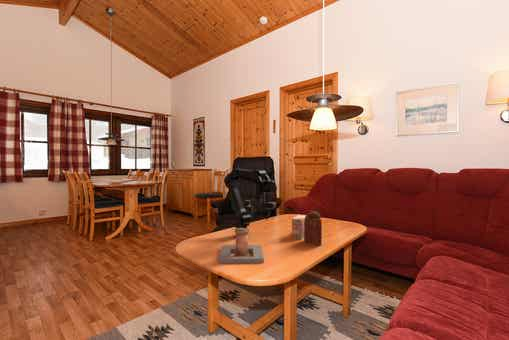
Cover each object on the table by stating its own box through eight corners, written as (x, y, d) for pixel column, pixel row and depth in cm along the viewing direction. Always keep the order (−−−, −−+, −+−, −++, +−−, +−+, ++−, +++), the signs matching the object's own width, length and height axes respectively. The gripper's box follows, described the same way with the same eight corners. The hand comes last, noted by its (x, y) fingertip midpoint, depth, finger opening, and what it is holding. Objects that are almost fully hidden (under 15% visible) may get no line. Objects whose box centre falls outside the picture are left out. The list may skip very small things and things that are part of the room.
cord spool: (232, 255, 123) (232, 228, 122) (244, 253, 126) (244, 227, 126) (238, 260, 117) (238, 232, 117) (251, 257, 120) (251, 230, 120)
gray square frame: (222, 248, 132) (222, 245, 132) (260, 248, 133) (260, 244, 133) (219, 263, 113) (219, 258, 113) (263, 262, 114) (263, 258, 114)
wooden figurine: (325, 243, 142) (326, 212, 142) (319, 246, 137) (320, 213, 137) (307, 239, 150) (307, 209, 150) (301, 241, 146) (301, 210, 145)
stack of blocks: (302, 230, 171) (302, 212, 171) (311, 231, 168) (312, 213, 168) (291, 238, 152) (291, 218, 152) (301, 240, 149) (301, 219, 149)
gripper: (238, 192, 141) (238, 220, 142) (269, 194, 133) (268, 223, 133) (247, 190, 151) (247, 216, 151) (276, 192, 143) (276, 219, 143)
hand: (259, 219), depth 145 cm, fingers open, 9 cm apart
